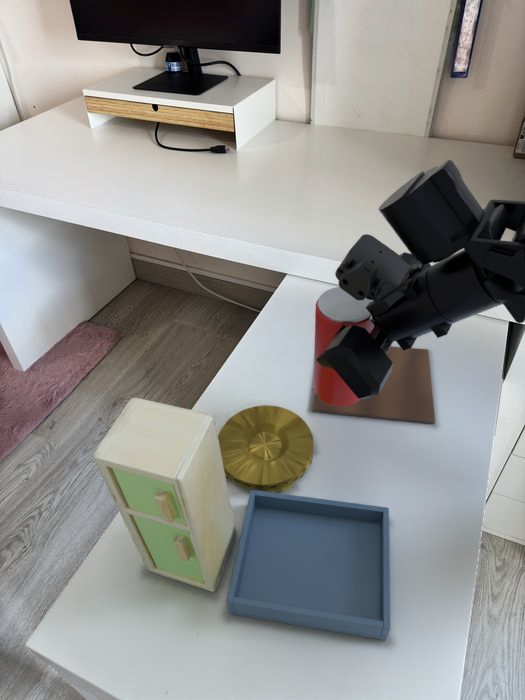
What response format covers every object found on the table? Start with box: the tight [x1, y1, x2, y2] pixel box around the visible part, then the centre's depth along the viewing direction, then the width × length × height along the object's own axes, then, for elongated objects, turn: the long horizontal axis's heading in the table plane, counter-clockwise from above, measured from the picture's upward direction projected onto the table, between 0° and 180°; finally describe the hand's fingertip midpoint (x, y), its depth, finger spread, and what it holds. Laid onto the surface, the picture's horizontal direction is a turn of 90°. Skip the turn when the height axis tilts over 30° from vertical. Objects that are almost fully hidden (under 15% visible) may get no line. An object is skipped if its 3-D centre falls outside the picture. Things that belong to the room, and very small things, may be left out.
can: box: [312, 286, 374, 406], centre depth 58 cm, size 6×6×13 cm
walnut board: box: [312, 345, 436, 425], centre depth 72 cm, size 16×14×1 cm
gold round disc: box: [217, 404, 314, 494], centre depth 63 cm, size 12×12×2 cm
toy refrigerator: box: [92, 397, 237, 593], centre depth 47 cm, size 8×7×21 cm
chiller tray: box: [226, 489, 391, 641], centre depth 52 cm, size 15×12×3 cm
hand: (331, 344), depth 59 cm, fingers closed on can, 6 cm apart
